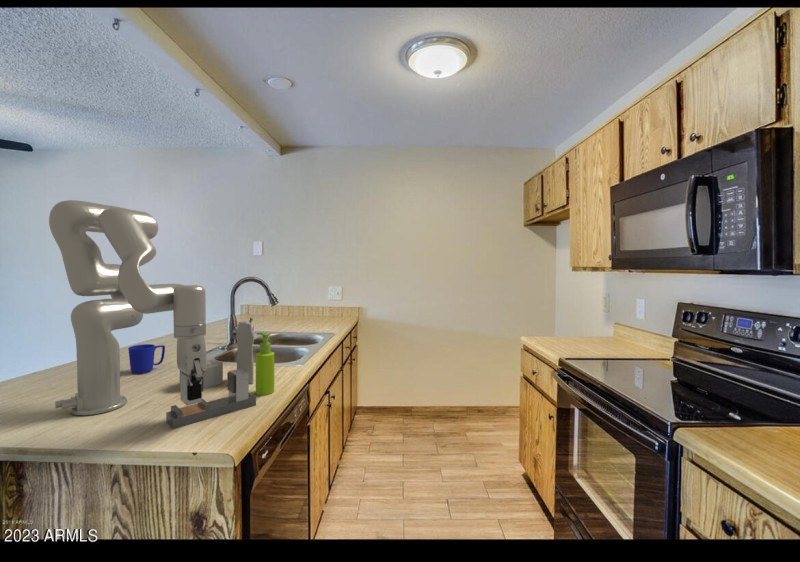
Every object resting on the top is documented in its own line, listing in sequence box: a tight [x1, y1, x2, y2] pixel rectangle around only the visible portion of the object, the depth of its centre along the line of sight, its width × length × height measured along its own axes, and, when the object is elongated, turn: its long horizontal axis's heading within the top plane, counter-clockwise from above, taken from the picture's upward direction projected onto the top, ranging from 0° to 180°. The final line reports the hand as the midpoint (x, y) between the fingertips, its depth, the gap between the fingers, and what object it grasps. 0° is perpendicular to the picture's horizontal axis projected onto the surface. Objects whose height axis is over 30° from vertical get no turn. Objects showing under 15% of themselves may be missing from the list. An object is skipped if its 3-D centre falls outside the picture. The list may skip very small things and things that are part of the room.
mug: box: [127, 343, 166, 375], centre depth 137 cm, size 8×12×10 cm
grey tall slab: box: [235, 320, 255, 385], centre depth 128 cm, size 11×4×22 cm, turn 55°
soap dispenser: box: [255, 331, 275, 396], centre depth 118 cm, size 6×7×20 cm
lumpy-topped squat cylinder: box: [179, 357, 224, 390], centre depth 124 cm, size 10×13×9 cm
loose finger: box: [179, 370, 204, 406], centre depth 96 cm, size 4×6×8 cm
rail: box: [165, 368, 257, 430], centre depth 101 cm, size 22×6×10 cm, turn 137°
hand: (190, 395), depth 96 cm, fingers closed on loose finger, 5 cm apart
